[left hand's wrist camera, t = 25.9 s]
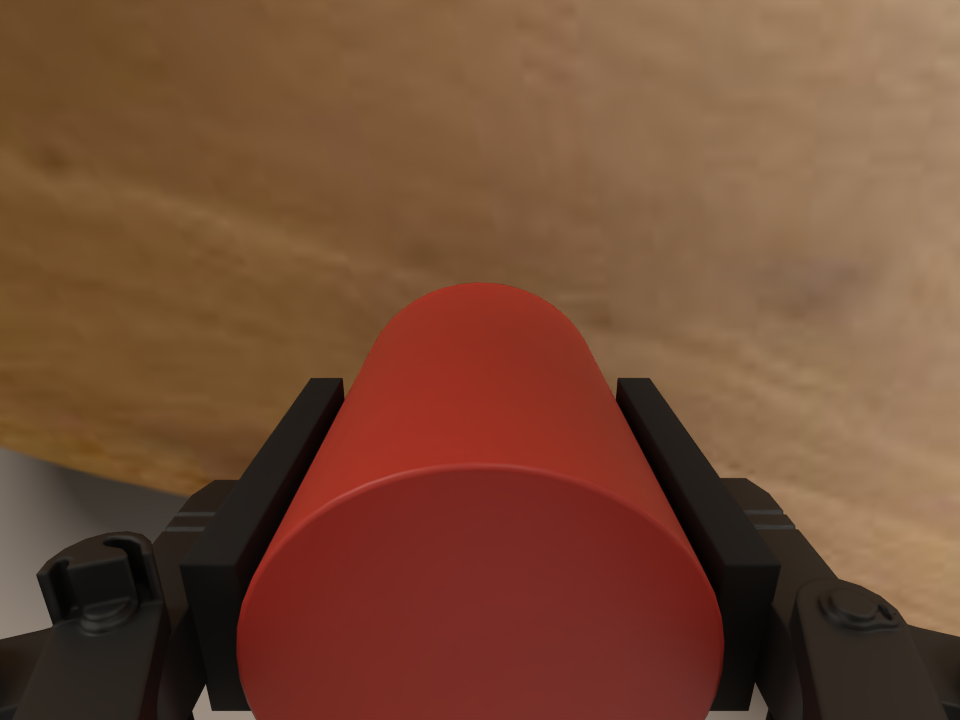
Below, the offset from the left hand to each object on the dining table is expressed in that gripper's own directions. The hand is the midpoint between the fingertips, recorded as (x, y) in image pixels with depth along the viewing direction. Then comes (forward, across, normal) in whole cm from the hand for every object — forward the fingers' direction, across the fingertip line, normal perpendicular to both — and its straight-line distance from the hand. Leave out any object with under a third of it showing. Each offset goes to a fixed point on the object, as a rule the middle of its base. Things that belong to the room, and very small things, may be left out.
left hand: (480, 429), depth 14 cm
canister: (+2, 0, 0) cm, 2 cm away
